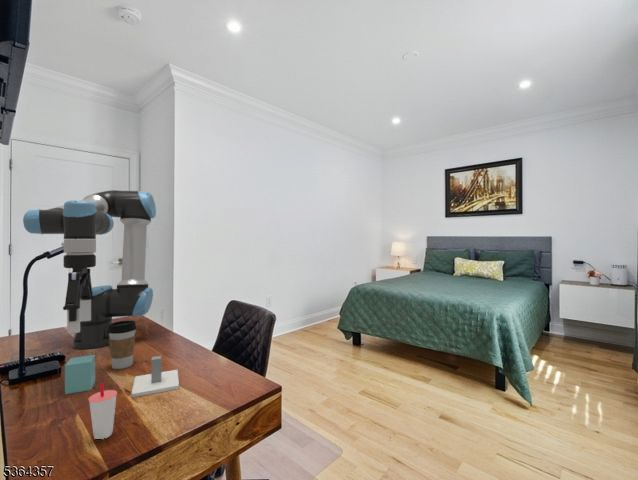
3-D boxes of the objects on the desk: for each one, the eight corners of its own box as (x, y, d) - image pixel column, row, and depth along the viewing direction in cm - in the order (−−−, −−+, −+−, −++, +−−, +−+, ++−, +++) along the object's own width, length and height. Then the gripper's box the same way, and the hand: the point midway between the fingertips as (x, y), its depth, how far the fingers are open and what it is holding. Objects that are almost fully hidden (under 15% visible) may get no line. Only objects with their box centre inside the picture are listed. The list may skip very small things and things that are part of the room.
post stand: (135, 379, 97) (135, 354, 97) (177, 372, 103) (177, 348, 102) (131, 397, 86) (131, 369, 86) (178, 388, 92) (178, 361, 92)
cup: (82, 439, 69) (82, 385, 69) (106, 425, 74) (106, 375, 74) (99, 445, 67) (99, 389, 67) (122, 430, 72) (122, 379, 72)
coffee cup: (122, 371, 103) (122, 326, 103) (101, 369, 104) (101, 324, 104) (142, 361, 111) (142, 319, 111) (121, 359, 113) (121, 318, 112)
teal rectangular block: (71, 385, 93) (70, 357, 93) (95, 381, 96) (95, 354, 96) (65, 394, 88) (64, 365, 88) (90, 389, 91) (90, 361, 91)
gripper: (75, 252, 101) (75, 318, 101) (49, 256, 79) (49, 340, 79) (103, 252, 104) (103, 315, 104) (85, 255, 82) (85, 336, 82)
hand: (80, 326), depth 92 cm, fingers open, 13 cm apart
